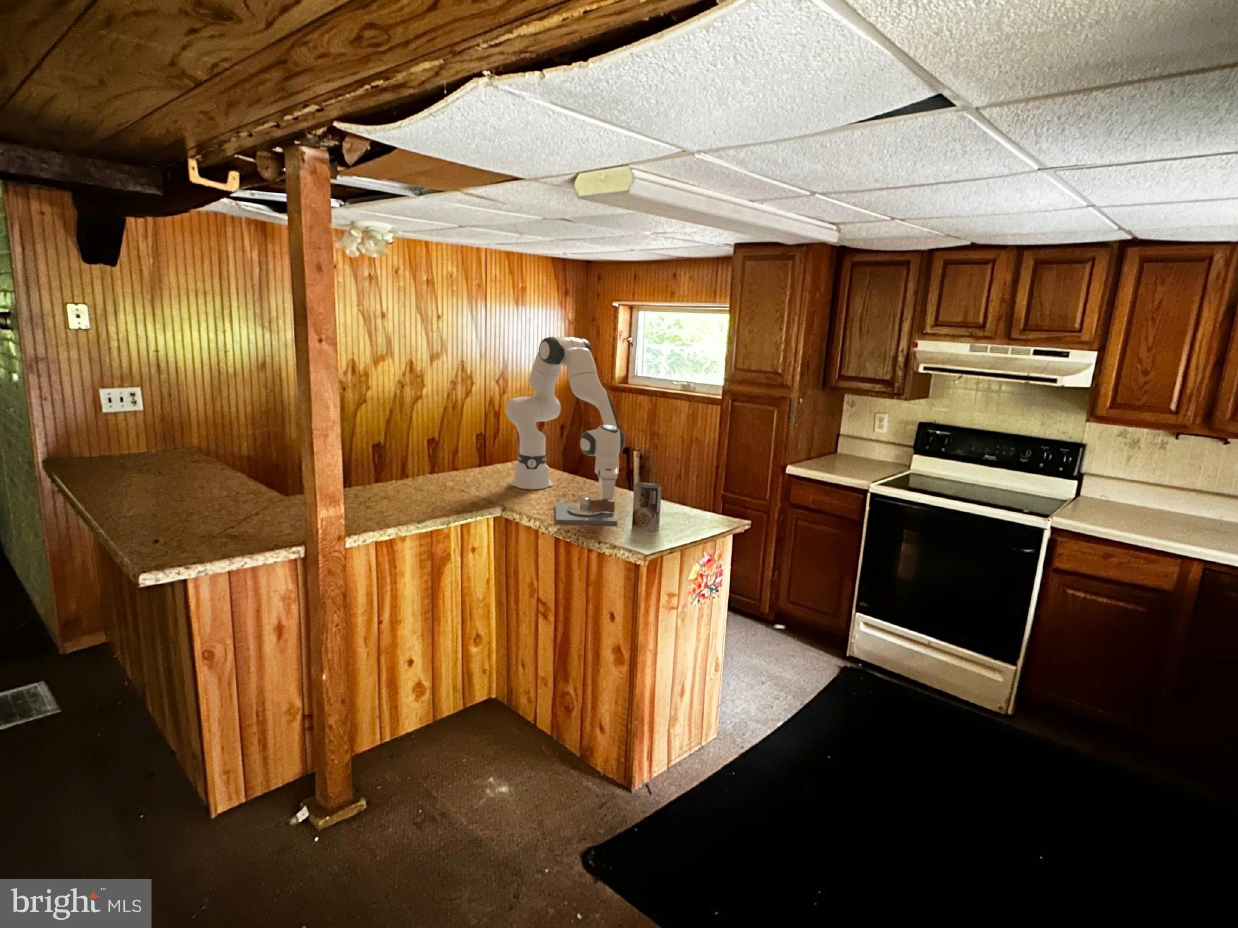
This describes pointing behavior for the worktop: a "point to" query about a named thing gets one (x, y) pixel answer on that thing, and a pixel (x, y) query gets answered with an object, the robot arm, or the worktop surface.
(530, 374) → the robot arm
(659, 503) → the coffee box
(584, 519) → the dial plate
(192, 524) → the worktop surface
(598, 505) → the dial
